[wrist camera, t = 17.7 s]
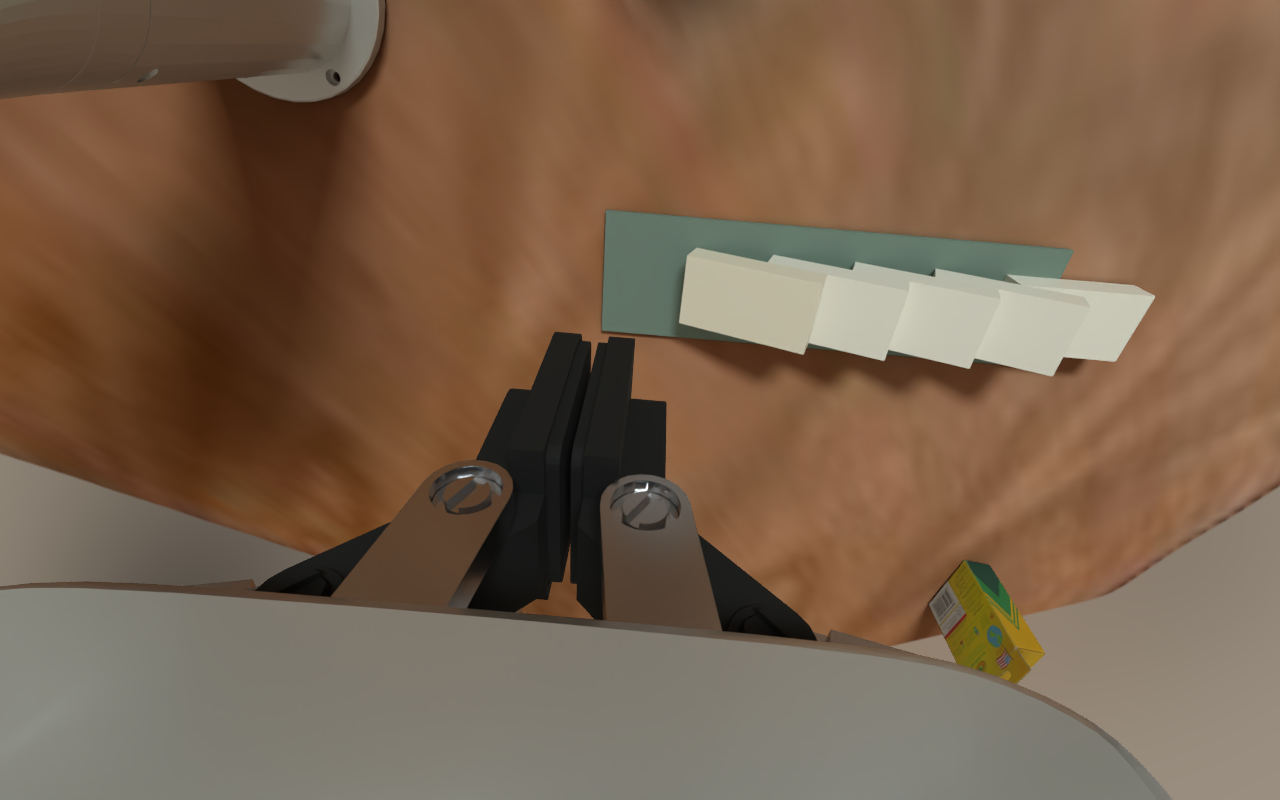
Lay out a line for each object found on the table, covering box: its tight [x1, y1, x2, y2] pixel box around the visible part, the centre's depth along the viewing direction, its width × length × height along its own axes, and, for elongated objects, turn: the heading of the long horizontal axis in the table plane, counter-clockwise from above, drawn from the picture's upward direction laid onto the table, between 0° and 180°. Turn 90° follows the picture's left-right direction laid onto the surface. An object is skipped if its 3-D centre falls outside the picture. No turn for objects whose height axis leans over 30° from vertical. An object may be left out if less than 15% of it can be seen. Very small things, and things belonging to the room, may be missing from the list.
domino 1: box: [679, 248, 827, 355], centre depth 38 cm, size 2×5×9 cm
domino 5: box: [1004, 275, 1155, 362], centre depth 39 cm, size 2×5×9 cm
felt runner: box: [602, 210, 1074, 365], centre depth 40 cm, size 32×9×1 cm, turn 86°
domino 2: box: [768, 255, 910, 361], centre depth 38 cm, size 2×5×9 cm
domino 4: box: [932, 268, 1091, 377], centre depth 38 cm, size 2×5×9 cm
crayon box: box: [929, 560, 1045, 684], centre depth 52 cm, size 7×3×12 cm, turn 167°
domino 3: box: [853, 262, 1001, 369], centre depth 38 cm, size 2×5×9 cm
